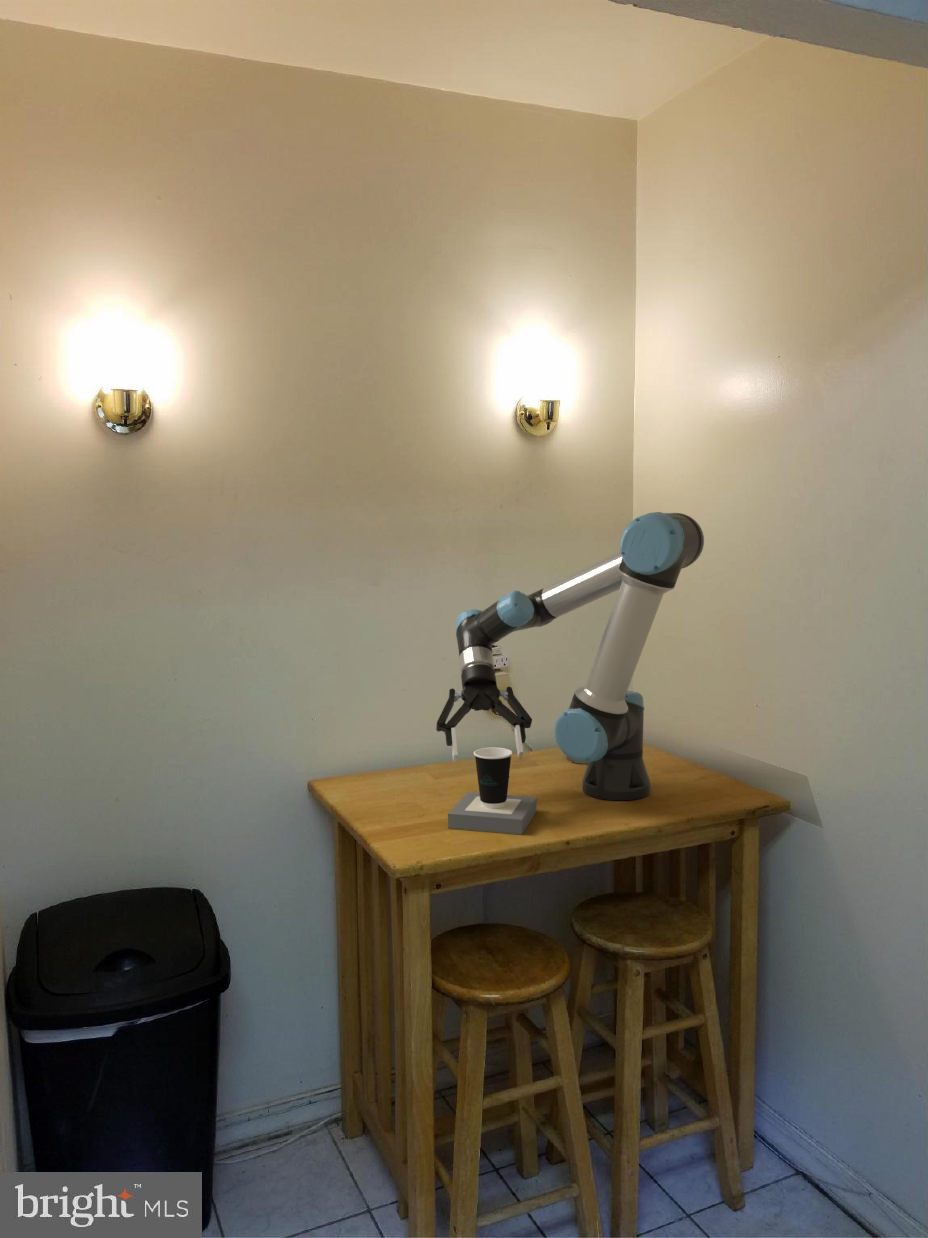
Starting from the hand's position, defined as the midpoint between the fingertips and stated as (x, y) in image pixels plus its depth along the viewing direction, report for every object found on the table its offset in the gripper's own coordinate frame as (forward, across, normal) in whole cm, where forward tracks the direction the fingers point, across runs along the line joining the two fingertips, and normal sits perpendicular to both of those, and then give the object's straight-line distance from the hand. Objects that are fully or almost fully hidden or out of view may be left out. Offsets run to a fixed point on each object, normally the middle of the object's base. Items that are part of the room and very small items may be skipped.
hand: (488, 757), depth 190 cm
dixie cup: (+8, -1, -5) cm, 10 cm away
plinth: (+11, -1, -7) cm, 13 cm away
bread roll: (-19, -31, -38) cm, 52 cm away
